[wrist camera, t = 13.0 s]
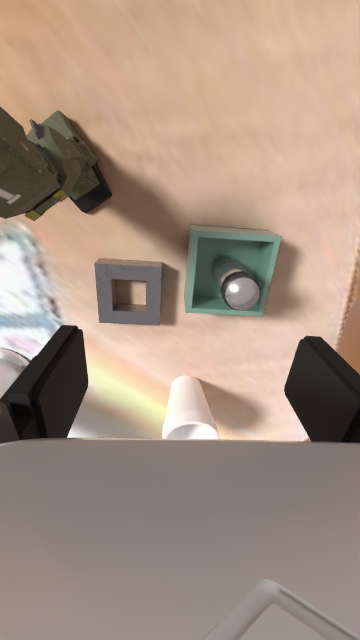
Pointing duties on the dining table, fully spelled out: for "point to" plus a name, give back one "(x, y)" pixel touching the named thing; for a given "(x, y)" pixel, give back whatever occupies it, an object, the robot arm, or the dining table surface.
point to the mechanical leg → (46, 168)
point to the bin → (245, 248)
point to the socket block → (128, 271)
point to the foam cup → (188, 412)
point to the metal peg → (235, 283)
